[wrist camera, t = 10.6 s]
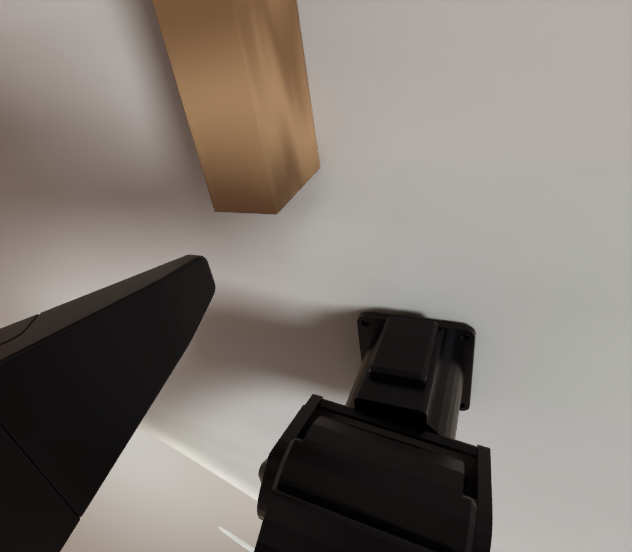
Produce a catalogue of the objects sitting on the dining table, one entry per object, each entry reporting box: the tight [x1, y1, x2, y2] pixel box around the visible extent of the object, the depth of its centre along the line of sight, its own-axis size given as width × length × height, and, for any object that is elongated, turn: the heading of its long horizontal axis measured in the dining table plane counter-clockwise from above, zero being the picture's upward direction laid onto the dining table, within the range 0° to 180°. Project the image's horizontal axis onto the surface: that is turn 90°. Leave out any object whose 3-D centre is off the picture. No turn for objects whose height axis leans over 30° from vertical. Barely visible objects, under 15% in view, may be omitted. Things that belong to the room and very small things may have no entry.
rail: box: [152, 0, 320, 214], centre depth 16 cm, size 14×3×5 cm, turn 9°
